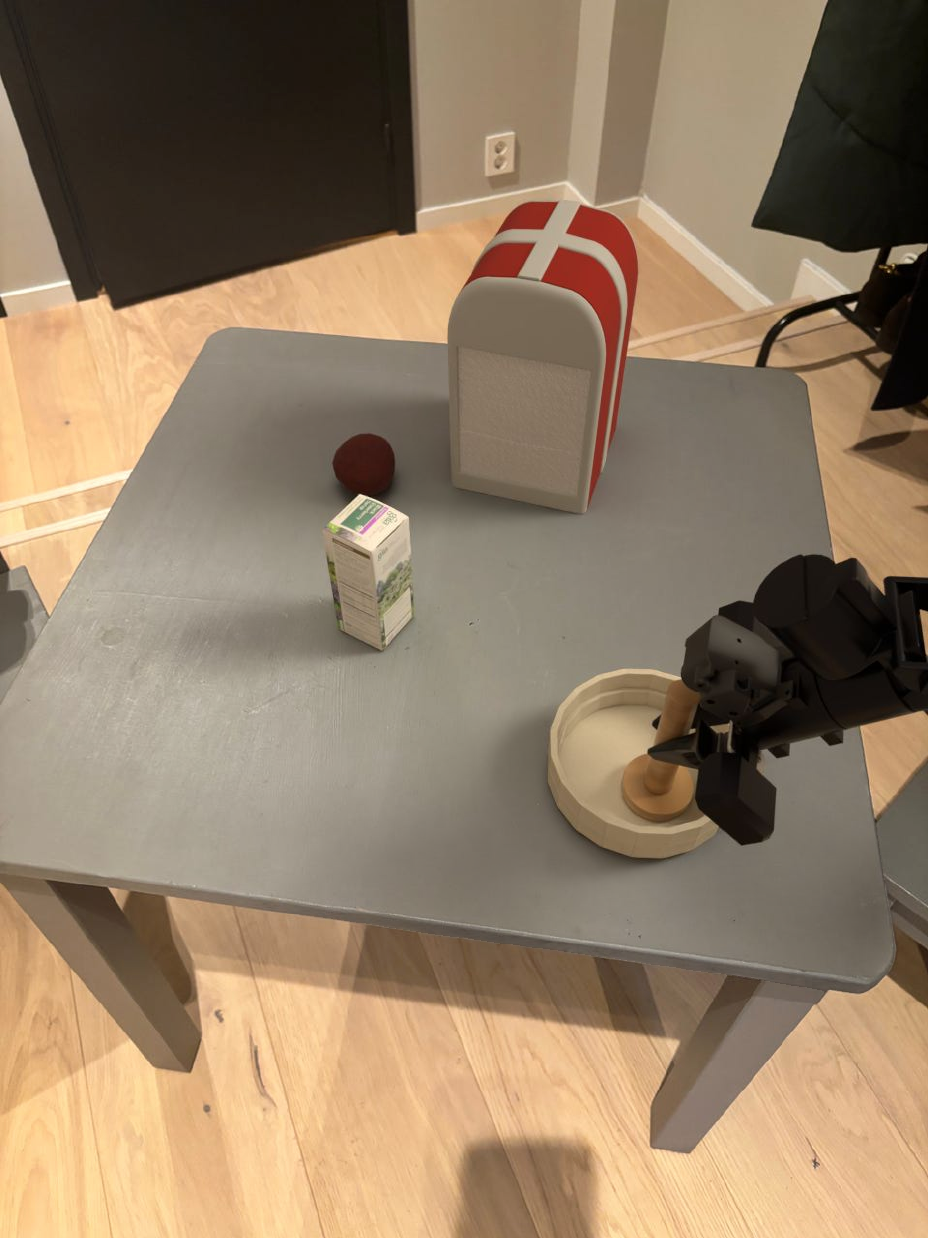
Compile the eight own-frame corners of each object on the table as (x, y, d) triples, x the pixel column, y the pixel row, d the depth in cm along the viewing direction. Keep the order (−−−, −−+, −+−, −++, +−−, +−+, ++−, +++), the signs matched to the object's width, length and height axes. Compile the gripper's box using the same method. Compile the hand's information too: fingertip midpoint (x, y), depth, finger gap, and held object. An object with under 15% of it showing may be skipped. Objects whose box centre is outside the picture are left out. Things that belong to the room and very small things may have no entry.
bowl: (745, 730, 83) (758, 698, 79) (712, 888, 73) (725, 861, 69) (576, 680, 86) (580, 648, 82) (522, 824, 77) (525, 795, 73)
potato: (322, 498, 103) (315, 458, 99) (352, 455, 108) (347, 414, 104) (381, 513, 102) (376, 473, 97) (409, 468, 107) (406, 427, 102)
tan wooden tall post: (672, 752, 80) (702, 651, 69) (703, 810, 76) (740, 713, 65) (610, 770, 79) (630, 671, 68) (638, 829, 75) (665, 735, 64)
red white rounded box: (447, 486, 104) (440, 267, 84) (492, 398, 115) (495, 185, 94) (586, 515, 101) (615, 295, 80) (619, 422, 112) (651, 206, 91)
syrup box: (370, 594, 94) (356, 489, 83) (417, 617, 92) (409, 512, 81) (337, 630, 91) (318, 526, 80) (384, 654, 89) (371, 551, 78)
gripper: (778, 522, 64) (609, 596, 75) (761, 737, 53) (564, 788, 63) (858, 615, 69) (688, 672, 79) (859, 831, 57) (660, 864, 68)
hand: (652, 740), depth 72 cm, fingers closed on tan wooden tall post, 2 cm apart
